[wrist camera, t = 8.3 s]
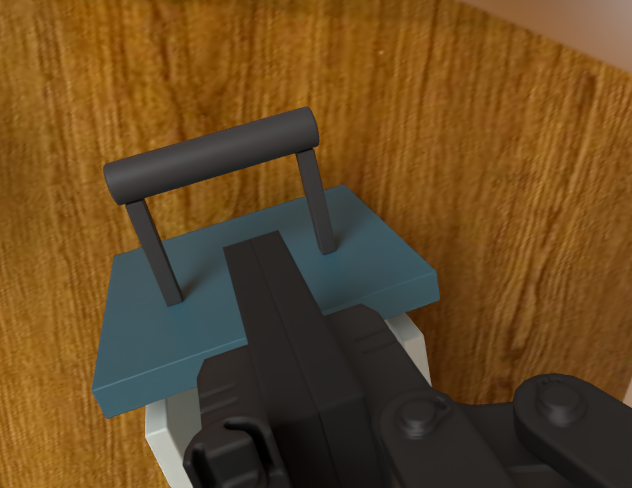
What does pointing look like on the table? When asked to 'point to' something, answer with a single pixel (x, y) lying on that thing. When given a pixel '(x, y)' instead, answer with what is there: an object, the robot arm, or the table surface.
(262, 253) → the robot arm
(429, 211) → the table surface
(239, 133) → the drawer
